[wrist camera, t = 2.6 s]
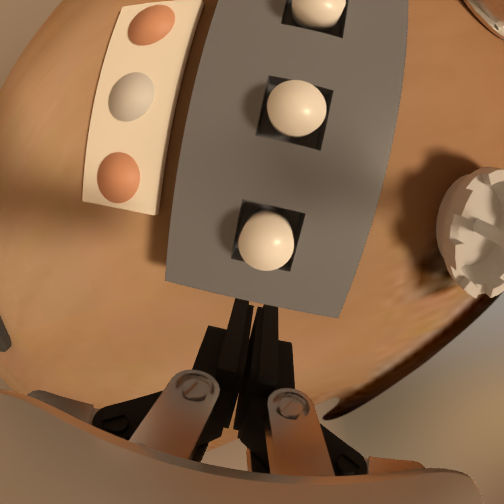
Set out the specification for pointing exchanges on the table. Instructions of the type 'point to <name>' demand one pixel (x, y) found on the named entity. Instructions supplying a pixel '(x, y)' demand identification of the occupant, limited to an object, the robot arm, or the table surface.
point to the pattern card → (138, 104)
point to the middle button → (296, 108)
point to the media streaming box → (4, 338)
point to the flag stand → (474, 231)
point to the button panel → (286, 150)
